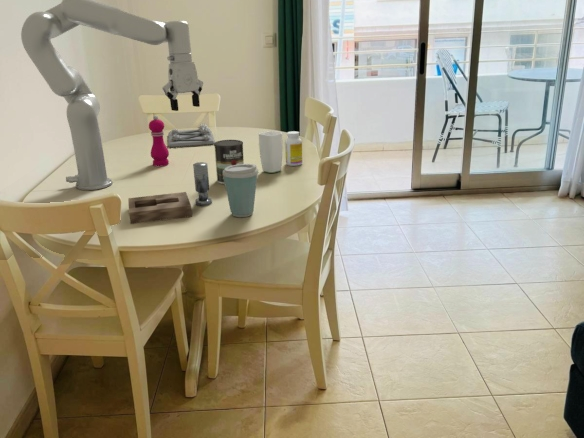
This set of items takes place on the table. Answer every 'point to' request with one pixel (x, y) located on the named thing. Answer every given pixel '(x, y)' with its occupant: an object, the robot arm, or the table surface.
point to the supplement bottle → (293, 149)
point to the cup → (271, 151)
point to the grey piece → (190, 137)
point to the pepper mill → (158, 143)
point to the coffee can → (227, 156)
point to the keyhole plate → (159, 207)
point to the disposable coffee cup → (241, 188)
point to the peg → (201, 184)
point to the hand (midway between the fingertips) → (185, 108)
